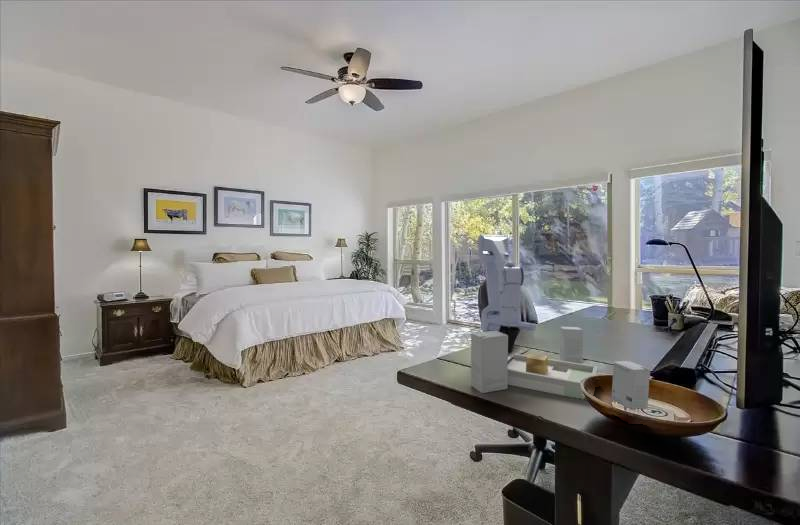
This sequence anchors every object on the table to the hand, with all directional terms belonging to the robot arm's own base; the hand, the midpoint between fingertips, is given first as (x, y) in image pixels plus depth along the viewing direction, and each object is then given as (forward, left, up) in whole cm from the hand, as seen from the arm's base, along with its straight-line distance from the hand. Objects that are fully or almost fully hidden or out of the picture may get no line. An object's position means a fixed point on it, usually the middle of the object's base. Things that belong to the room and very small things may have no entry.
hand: (509, 352), depth 110 cm
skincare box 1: (-2, -14, -7) cm, 16 cm away
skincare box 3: (+30, -15, -7) cm, 35 cm away
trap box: (+11, 0, -7) cm, 13 cm away
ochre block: (+8, 0, -4) cm, 9 cm away
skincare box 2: (+14, +22, -7) cm, 27 cm away
